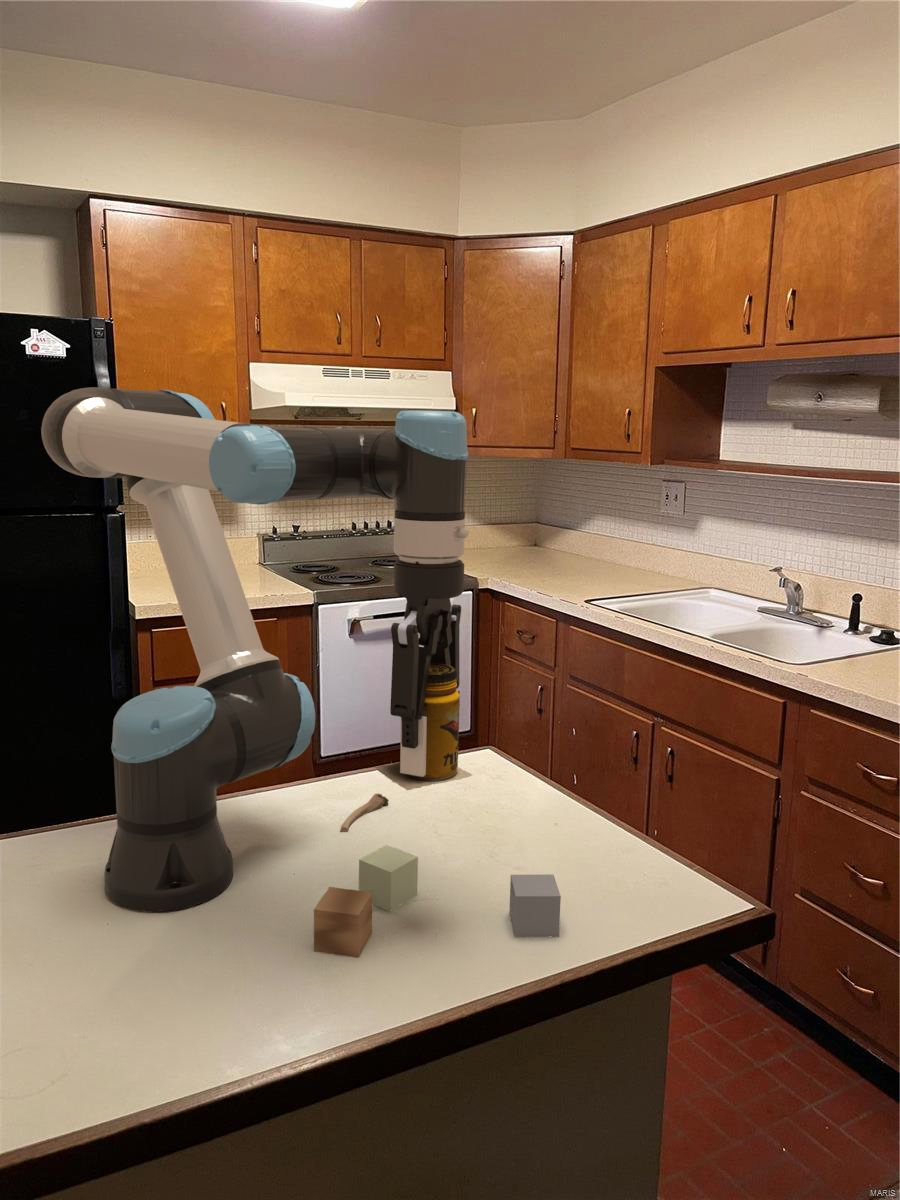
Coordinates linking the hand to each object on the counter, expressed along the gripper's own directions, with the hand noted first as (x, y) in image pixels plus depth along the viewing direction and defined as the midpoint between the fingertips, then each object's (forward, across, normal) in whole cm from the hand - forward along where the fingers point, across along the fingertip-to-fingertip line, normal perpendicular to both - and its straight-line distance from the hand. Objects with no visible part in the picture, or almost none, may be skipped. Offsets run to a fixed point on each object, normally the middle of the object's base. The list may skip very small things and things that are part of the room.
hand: (425, 763), depth 101 cm
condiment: (+1, -1, 0) cm, 1 cm away
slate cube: (+19, +4, -12) cm, 23 cm away
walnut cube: (+19, -8, +6) cm, 21 cm away
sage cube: (+19, +3, +6) cm, 20 cm away
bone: (+19, +22, +19) cm, 35 cm away
